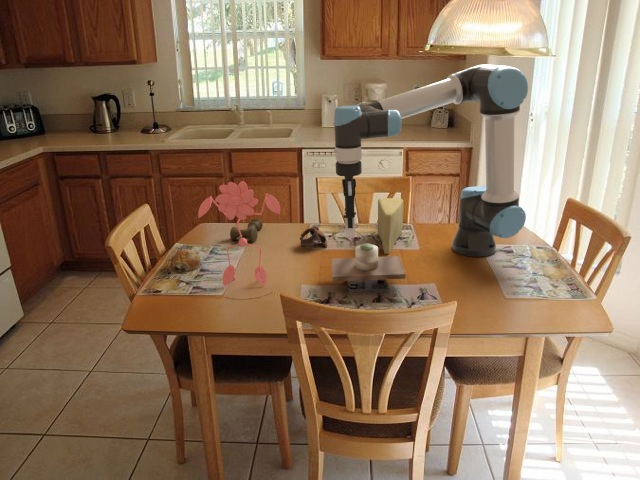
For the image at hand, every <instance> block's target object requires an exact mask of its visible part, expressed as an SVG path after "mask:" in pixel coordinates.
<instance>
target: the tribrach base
mask: <svg viewBox="0 0 640 480" xmlns="http://www.w3.org/2000/svg"><path fill="white" fill-rule="evenodd" d="M347 289H348V290H349V291H348V294H349V293H366V294H389V287H388V282H387V279H383V280H357V281H347Z"/></svg>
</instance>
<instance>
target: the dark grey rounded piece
mask: <svg viewBox="0 0 640 480" xmlns="http://www.w3.org/2000/svg"><path fill="white" fill-rule="evenodd" d="M262 229H263V221H262V220H261V219H260V218H253V219H251V221H250V222H249V223H247V228H246V229H240V232H241V235H242V238H245V239H246V240H247V241H249V242H250V243H253V244H254V243H256V241H257V239H258V231H260V230H262ZM229 237H230V240H231V241H233V242H234V241H239V240H240V239H241V236H240V234H239V231H238V229H237V227H236V226H232V227H231V229H230V231H229Z"/></svg>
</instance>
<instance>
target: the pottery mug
mask: <svg viewBox="0 0 640 480" xmlns="http://www.w3.org/2000/svg"><path fill="white" fill-rule="evenodd" d="M308 234H310V235H311V236H310V237H308V238H305V236H307V235H308ZM304 238H305V239H304ZM299 240H300V246H301V247H307V246H311V245H312V246H314V245H315V243H314V241H320V243H321V244H324V246H325V248H326V249H327V248H328V242H327V241H328V240H327V238H326V236H325V234H324V233H323V232H322V231H321V230H320V228H319V227H318V226H313V227H308V228H307V229H305V230H304V231H303V232H302V233H301V234H300V237H299Z"/></svg>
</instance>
